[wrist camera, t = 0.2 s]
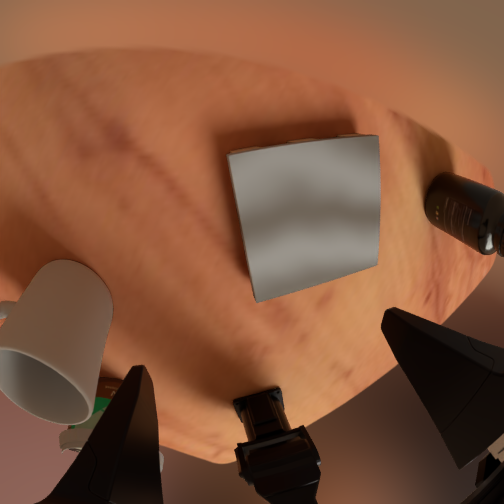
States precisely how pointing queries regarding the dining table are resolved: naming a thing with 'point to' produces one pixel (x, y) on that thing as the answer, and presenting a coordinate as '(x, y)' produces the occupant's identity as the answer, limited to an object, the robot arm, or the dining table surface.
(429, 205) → the supplement bottle
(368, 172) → the plate
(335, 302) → the dining table surface
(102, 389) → the food container
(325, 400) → the dining table surface
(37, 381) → the mug
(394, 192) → the dining table surface
